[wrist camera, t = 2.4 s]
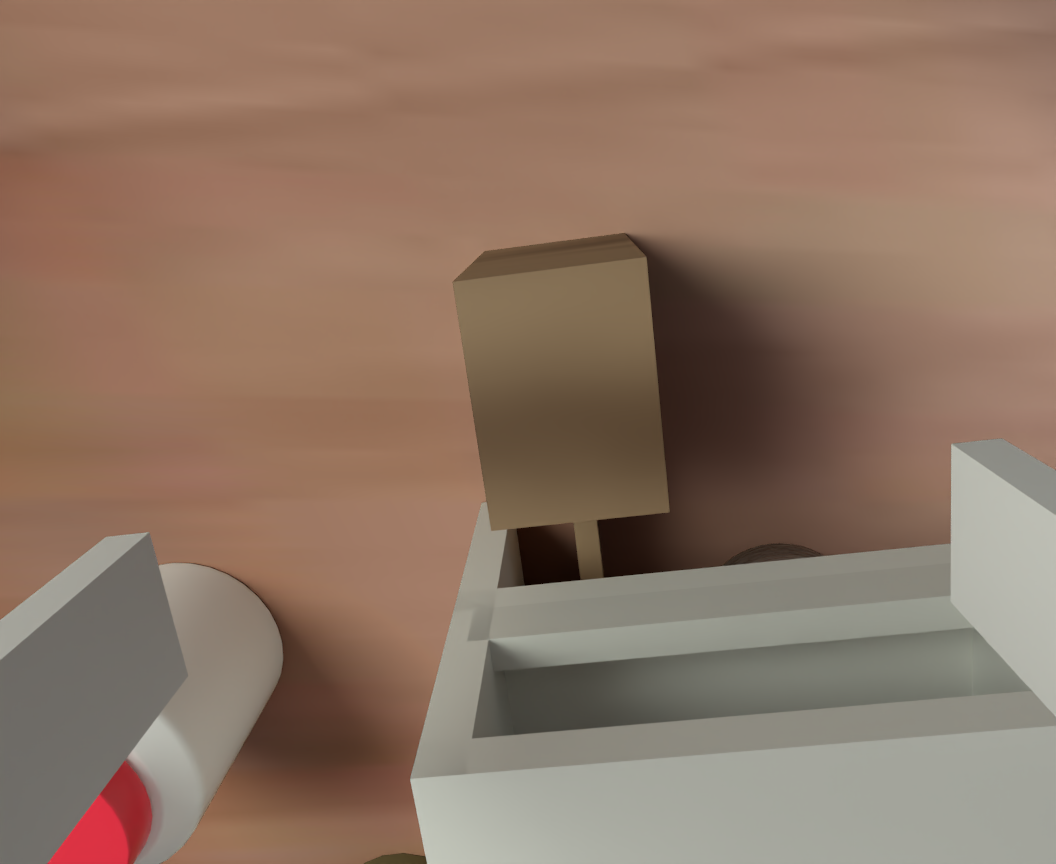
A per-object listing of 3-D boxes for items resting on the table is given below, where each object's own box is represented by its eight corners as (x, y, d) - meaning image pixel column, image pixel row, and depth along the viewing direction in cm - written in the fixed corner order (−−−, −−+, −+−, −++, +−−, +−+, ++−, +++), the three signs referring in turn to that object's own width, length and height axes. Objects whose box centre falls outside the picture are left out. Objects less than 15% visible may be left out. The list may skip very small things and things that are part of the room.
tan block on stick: (484, 251, 31) (452, 281, 22) (624, 233, 31) (646, 256, 22) (550, 708, 36) (544, 875, 28) (669, 698, 36) (702, 864, 27)
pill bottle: (104, 714, 37) (-79, 927, 27) (97, 550, 35) (-105, 714, 24) (281, 736, 37) (168, 958, 27) (286, 573, 35) (165, 746, 24)
